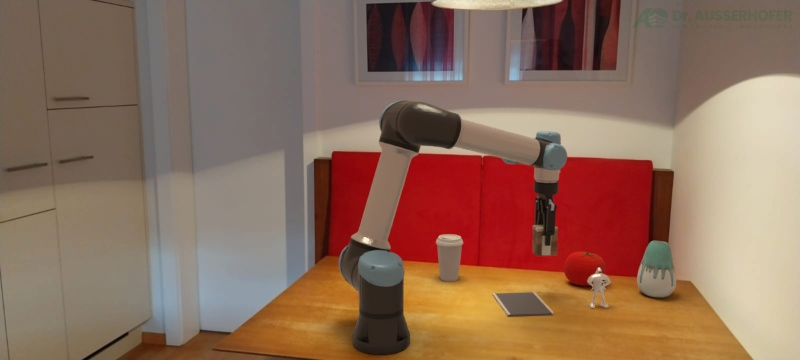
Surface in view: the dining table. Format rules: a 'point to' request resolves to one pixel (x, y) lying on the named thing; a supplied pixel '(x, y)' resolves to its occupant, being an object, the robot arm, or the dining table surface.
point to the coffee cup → (449, 256)
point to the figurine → (598, 286)
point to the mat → (522, 304)
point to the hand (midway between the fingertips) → (543, 252)
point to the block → (538, 241)
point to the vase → (657, 270)
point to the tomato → (582, 267)
